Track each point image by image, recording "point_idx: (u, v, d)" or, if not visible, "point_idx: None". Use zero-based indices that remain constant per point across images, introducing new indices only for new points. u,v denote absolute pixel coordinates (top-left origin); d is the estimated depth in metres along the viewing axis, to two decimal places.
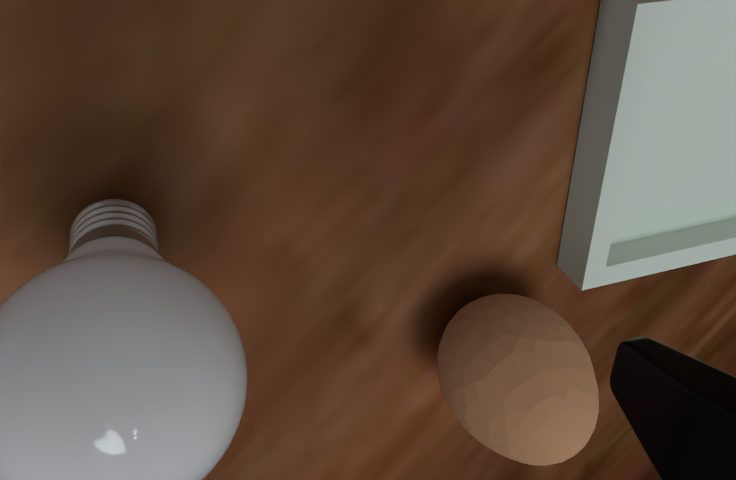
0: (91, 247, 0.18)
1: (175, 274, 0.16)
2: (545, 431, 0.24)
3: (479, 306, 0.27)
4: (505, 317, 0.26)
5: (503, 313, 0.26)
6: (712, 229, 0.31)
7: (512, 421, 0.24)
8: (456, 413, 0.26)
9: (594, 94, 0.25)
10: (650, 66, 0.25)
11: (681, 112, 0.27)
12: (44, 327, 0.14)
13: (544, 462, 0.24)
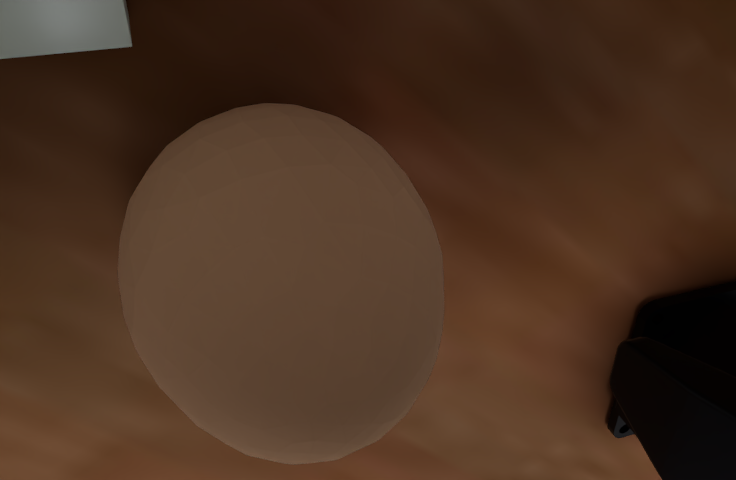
0: None
1: None
2: (285, 456, 0.10)
3: None
4: None
5: None
6: None
7: None
8: None
9: None
10: None
11: None
12: None
13: (386, 428, 0.10)
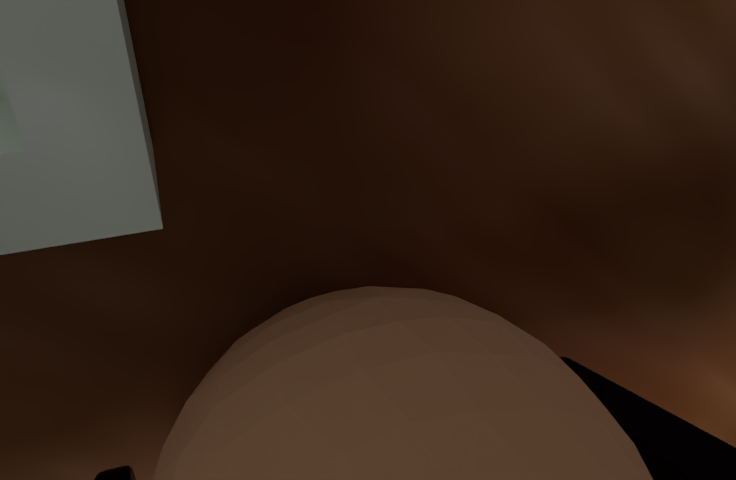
0: None
1: None
2: None
3: None
4: None
5: None
6: None
7: None
8: None
9: None
10: None
11: None
12: None
13: None
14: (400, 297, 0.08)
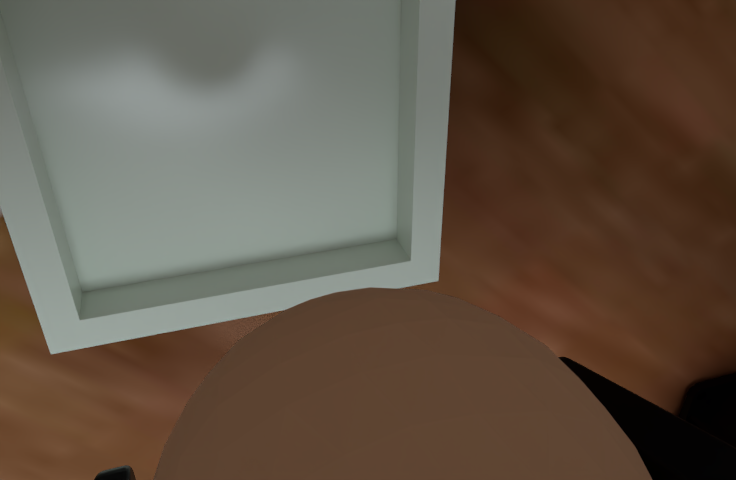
0: None
1: None
2: None
3: None
4: None
5: None
6: (405, 55, 0.19)
7: None
8: None
9: None
10: (137, 246, 0.20)
11: (202, 173, 0.19)
12: None
13: None
14: (401, 299, 0.08)
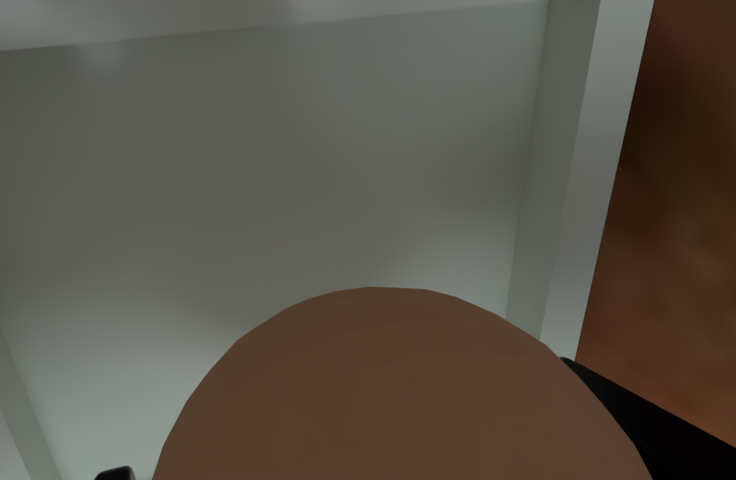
0: None
1: None
2: None
3: None
4: None
5: None
6: (538, 180, 0.13)
7: None
8: None
9: None
10: (149, 443, 0.14)
11: None
12: None
13: None
14: (400, 297, 0.08)
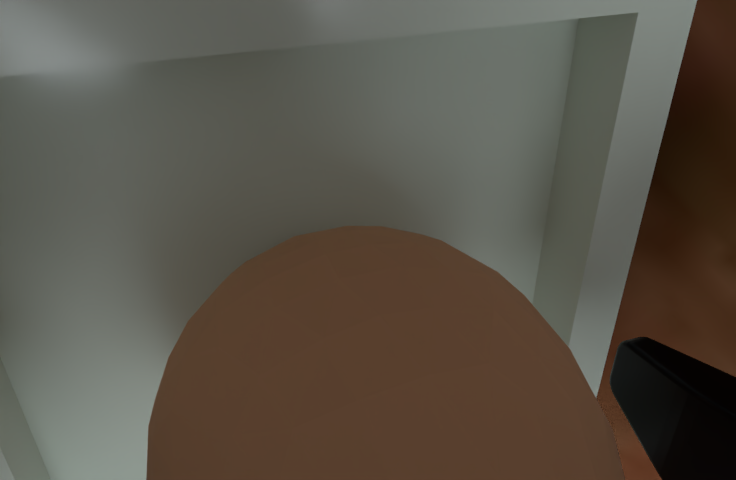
0: None
1: None
2: None
3: None
4: None
5: None
6: (565, 202, 0.12)
7: None
8: None
9: None
10: None
11: None
12: None
13: None
14: (373, 230, 0.09)
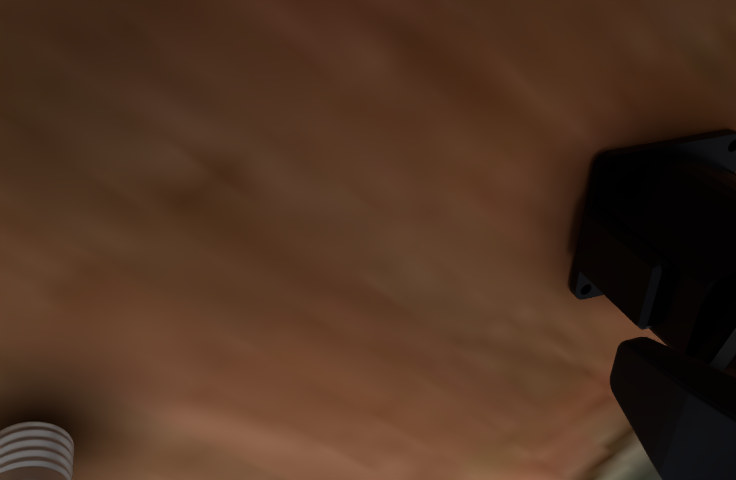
0: None
1: None
2: None
3: None
4: None
5: None
6: None
7: None
8: None
9: None
10: None
11: None
12: None
13: None
14: None
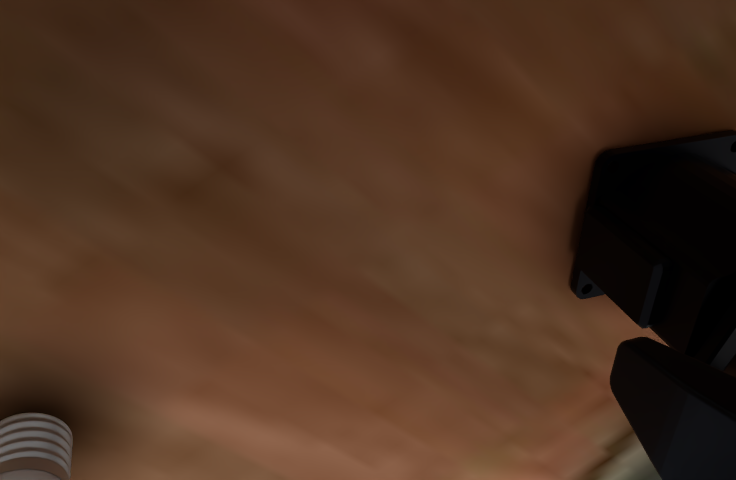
0: None
1: None
2: None
3: None
4: None
5: None
6: None
7: None
8: None
9: None
10: None
11: None
12: None
13: None
14: None
